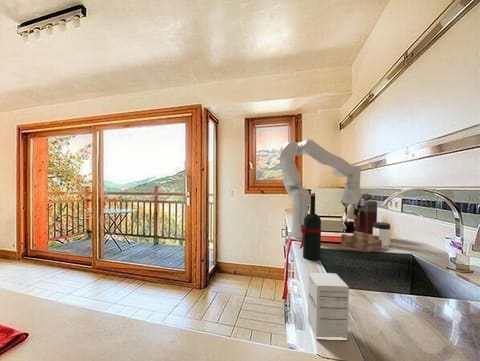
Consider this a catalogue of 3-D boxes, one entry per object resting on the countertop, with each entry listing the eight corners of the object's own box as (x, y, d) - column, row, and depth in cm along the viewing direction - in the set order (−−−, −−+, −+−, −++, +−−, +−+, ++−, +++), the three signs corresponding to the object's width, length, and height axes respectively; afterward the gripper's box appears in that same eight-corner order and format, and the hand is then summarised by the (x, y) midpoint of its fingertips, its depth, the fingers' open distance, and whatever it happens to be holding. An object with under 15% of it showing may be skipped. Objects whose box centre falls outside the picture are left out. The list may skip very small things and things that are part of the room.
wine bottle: (295, 256, 109) (296, 192, 108) (313, 254, 112) (314, 192, 112) (304, 262, 101) (306, 193, 101) (324, 259, 104) (325, 193, 104)
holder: (341, 244, 129) (341, 234, 129) (354, 241, 137) (354, 231, 137) (369, 252, 117) (369, 240, 116) (381, 247, 125) (381, 236, 125)
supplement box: (307, 320, 59) (307, 271, 59) (336, 321, 59) (337, 272, 59) (315, 340, 52) (316, 285, 52) (348, 342, 52) (349, 286, 52)
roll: (345, 217, 144) (346, 199, 143) (349, 217, 146) (350, 199, 146) (353, 219, 139) (354, 200, 139) (357, 218, 142) (358, 200, 142)
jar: (387, 247, 125) (388, 225, 125) (371, 244, 131) (371, 223, 131) (391, 244, 131) (392, 223, 131) (375, 241, 137) (376, 221, 137)
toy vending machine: (351, 236, 150) (352, 193, 150) (364, 234, 154) (365, 192, 154) (364, 239, 142) (365, 194, 141) (376, 237, 146) (377, 193, 146)
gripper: (336, 184, 147) (335, 212, 148) (364, 186, 134) (362, 217, 134) (343, 184, 152) (341, 212, 152) (370, 186, 138) (368, 216, 138)
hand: (351, 214), depth 143 cm, fingers closed on roll, 5 cm apart
